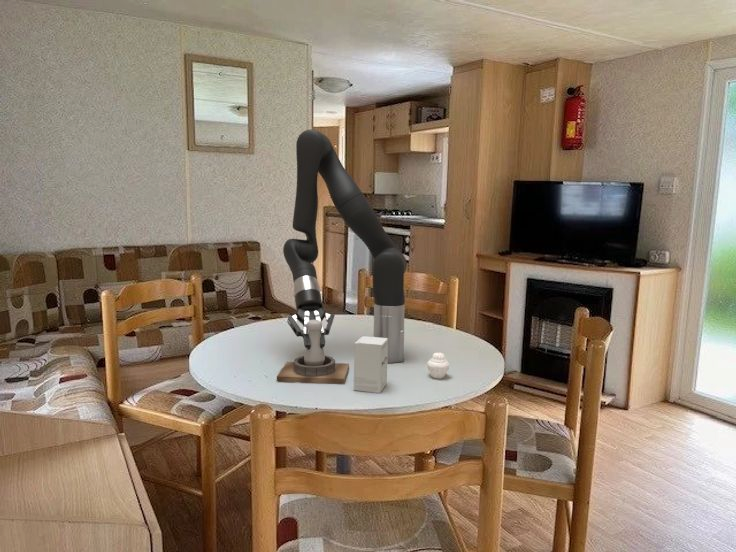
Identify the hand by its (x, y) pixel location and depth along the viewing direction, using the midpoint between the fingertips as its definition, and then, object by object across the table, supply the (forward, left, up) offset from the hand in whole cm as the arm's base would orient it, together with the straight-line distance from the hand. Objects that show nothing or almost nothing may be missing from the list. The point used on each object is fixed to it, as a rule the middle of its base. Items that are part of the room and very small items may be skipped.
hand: (315, 347), depth 144 cm
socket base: (+1, -2, -8) cm, 9 cm away
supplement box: (-15, +6, -9) cm, 19 cm away
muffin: (-33, -4, -9) cm, 35 cm away
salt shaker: (+1, -2, -6) cm, 6 cm away
